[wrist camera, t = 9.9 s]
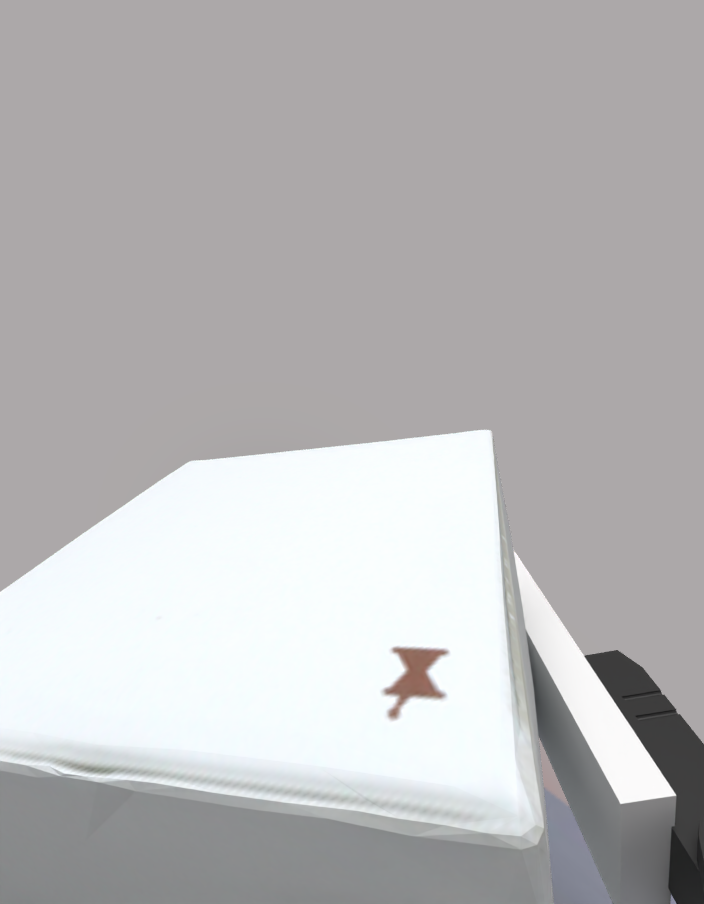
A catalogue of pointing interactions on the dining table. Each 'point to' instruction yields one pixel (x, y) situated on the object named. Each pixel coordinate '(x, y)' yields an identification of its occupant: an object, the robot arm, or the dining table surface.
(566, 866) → the dining table surface
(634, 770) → the robot arm
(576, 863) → the dining table surface
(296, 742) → the supplement box
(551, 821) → the dining table surface
